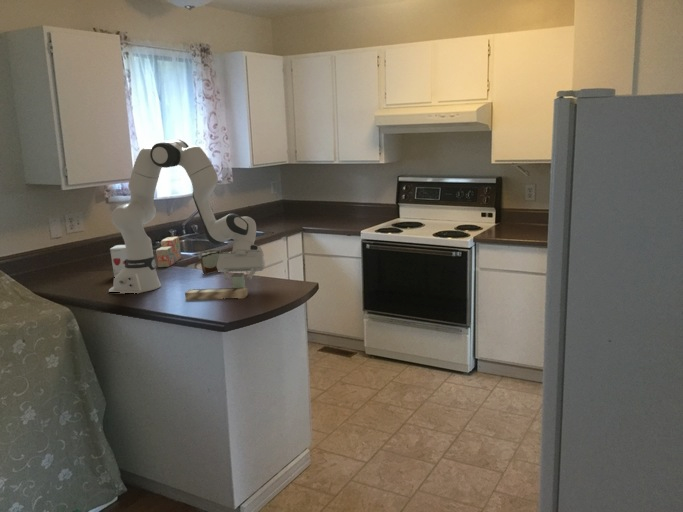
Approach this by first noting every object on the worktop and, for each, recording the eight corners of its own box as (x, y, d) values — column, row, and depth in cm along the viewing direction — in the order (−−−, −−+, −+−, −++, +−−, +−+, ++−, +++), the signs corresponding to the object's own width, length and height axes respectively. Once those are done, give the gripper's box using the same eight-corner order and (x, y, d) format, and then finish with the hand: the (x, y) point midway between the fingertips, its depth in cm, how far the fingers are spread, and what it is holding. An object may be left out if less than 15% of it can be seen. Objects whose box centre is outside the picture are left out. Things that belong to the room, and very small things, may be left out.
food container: (215, 268, 302) (212, 248, 300) (223, 269, 298) (220, 249, 296) (194, 273, 292) (192, 253, 290) (202, 275, 289) (200, 254, 286)
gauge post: (233, 294, 251) (231, 275, 250) (236, 291, 255) (234, 273, 253) (243, 294, 251) (241, 275, 249) (245, 291, 254) (243, 273, 253)
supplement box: (113, 278, 294) (109, 248, 291) (119, 274, 303) (115, 245, 300) (132, 277, 294) (128, 247, 291) (137, 272, 303) (133, 243, 300)
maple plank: (185, 299, 248) (184, 292, 247) (190, 296, 253) (189, 289, 252) (244, 298, 244) (243, 290, 243) (247, 294, 249) (247, 287, 248)
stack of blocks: (169, 266, 312) (166, 243, 310) (157, 267, 313) (154, 244, 310) (181, 257, 333) (179, 235, 331) (170, 258, 334) (167, 236, 331)
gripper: (217, 248, 258) (211, 276, 251) (263, 246, 255) (259, 274, 247) (221, 255, 263) (216, 283, 256) (267, 254, 260) (263, 282, 253)
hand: (238, 279), depth 252 cm, fingers open, 8 cm apart
